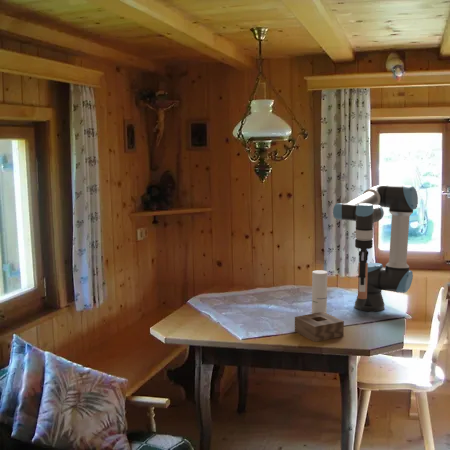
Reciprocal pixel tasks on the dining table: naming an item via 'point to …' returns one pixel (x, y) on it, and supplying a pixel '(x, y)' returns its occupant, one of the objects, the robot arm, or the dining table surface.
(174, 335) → the dining table surface
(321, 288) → the cylindrical container
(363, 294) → the peg
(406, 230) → the robot arm
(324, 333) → the socket block
